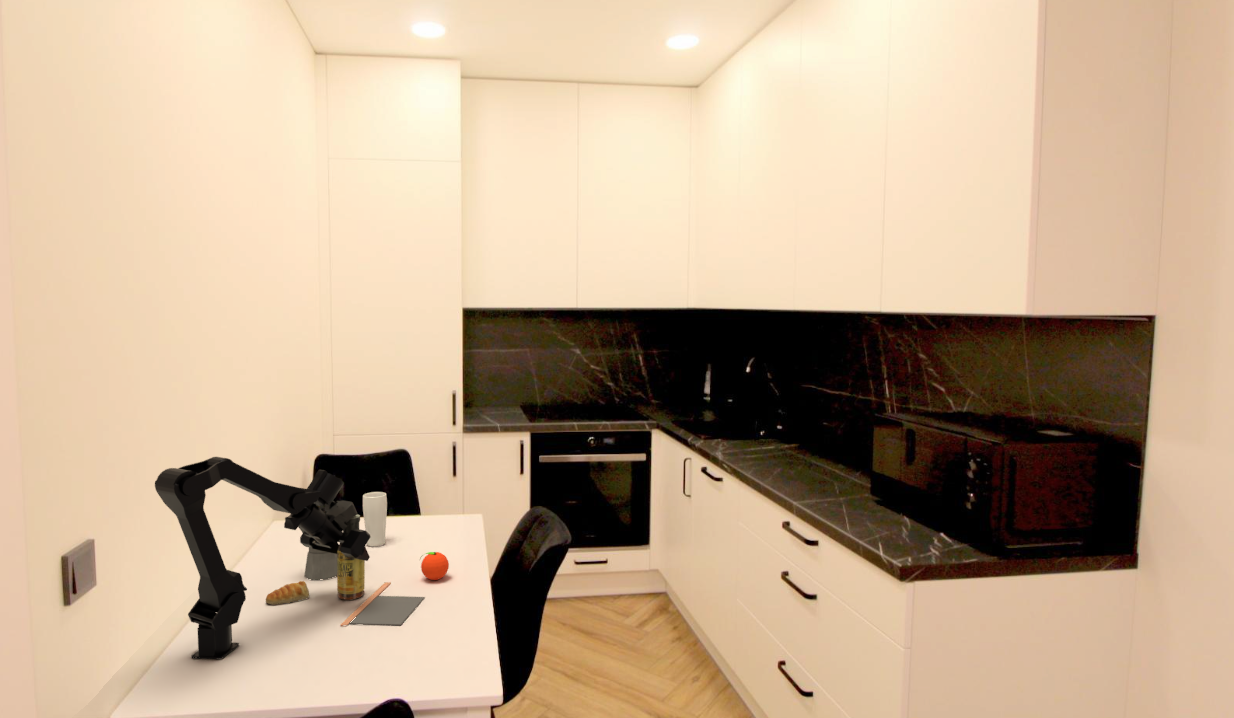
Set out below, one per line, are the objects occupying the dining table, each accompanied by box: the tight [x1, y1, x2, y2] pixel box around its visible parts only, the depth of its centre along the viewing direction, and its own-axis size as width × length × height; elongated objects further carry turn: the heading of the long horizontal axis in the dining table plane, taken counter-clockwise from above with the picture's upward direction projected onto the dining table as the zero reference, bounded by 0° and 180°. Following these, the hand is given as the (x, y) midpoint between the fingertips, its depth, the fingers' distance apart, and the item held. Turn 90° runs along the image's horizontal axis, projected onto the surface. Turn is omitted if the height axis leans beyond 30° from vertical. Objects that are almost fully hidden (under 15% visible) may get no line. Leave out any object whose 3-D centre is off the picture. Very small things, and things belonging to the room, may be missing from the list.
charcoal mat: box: [349, 595, 425, 627], centre depth 175 cm, size 16×12×1 cm
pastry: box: [265, 580, 310, 606], centre depth 183 cm, size 9×7×4 cm
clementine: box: [419, 551, 450, 581], centre depth 196 cm, size 8×7×7 cm
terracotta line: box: [340, 581, 392, 626], centre depth 180 cm, size 26×2×1 cm, turn 176°
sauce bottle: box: [336, 513, 366, 601], centre depth 184 cm, size 6×6×20 cm
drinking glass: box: [362, 491, 388, 548], centre depth 224 cm, size 7×7×15 cm
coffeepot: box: [298, 506, 337, 581], centre depth 200 cm, size 15×9×18 cm, turn 116°
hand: (355, 556), depth 185 cm, fingers open, 9 cm apart
